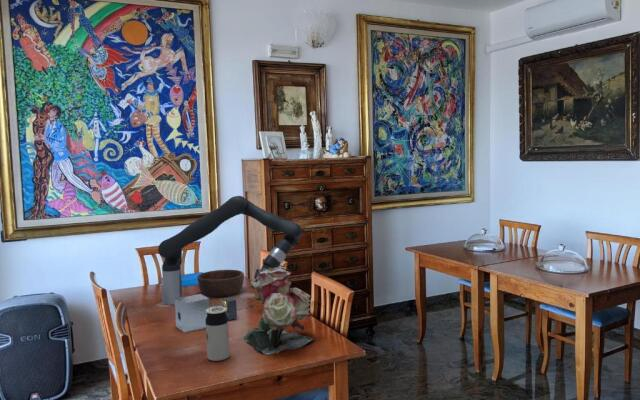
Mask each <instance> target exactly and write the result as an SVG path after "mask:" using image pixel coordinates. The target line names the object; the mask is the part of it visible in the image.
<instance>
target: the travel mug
mask: <svg viewBox="0 0 640 400" xmlns="http://www.w3.org/2000/svg"><path fill="white" fill-rule="evenodd" d="M211 307H212V306H211ZM226 310H227V309H226V308H225V307H212V308H208V309H207V310H206V313H207V317H206V319H205V320H206V328H205V334H206V335H205V337H206V356H207V359H208V360H210V361H212V362H213V361H214V362H218V361H219V362H221V361H224V360H226V359H228V358H229V357H230V339H229V320H228V317H227V315H226Z"/></svg>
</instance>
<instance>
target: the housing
mask: <svg viewBox="0 0 640 400" xmlns="http://www.w3.org/2000/svg"><path fill="white" fill-rule="evenodd" d="M210 304H211V303H210V297H208V296H205V295H203V294H202V293H200V294H199V293H198V294H193V295H189V296H188V295H187V296H182V298H176V299H175V305H174V312H175V327H176V328H177V329H179V330H180V331H181V332H183V333H184V334H185V333H189V332H194V331H198V330H202V329H206V320H205V319H206V317H207V313H206V310H207V309H208V308H210V307H211V306H210Z"/></svg>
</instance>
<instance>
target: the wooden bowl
mask: <svg viewBox="0 0 640 400" xmlns="http://www.w3.org/2000/svg"><path fill="white" fill-rule="evenodd" d="M197 279H198V284H199V285H198V288H199V290H200V292H201V294H202V295H204V296H205V297H207V298H228V297H232V296H235V295H237V294H239V293H240V292H241V290H242V289H243V286H244V280H245V274H244V271H242V270H238V269H237V270H236V269H218V270H210V271H205V272H203V273H202V274H200V275H198V277H197Z"/></svg>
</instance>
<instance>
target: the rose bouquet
mask: <svg viewBox="0 0 640 400" xmlns="http://www.w3.org/2000/svg"><path fill="white" fill-rule="evenodd" d="M270 271H271V272H270ZM257 273H258V274H259V276H260V277H261V279H259V281H255V280H253V281H250V284H251V285H252V286H253V287H254V289H253V290H254V291H255V292H256V293H257V295H258V296H255V297H251V298H250V300H256V301H262V302H261V303H260V304H261V305H263V308H262V311H261V316H262V317H261V318H260V319H259V318H258V317H257V318H255V319H257V322H258V327H257V326H256V327H254V328H252V329H249V330H248V332H247V333H246V335H244V337H243V338H242V340H243V341H244V342H245V343H246V344H247V345H249V346H251V347H253V348H254V349H255V350H256V351H258V352H259V353H262V354H263V355H266V356H269V355H272V354H275V353H276V354H277V355H278V356H279V353H280V352H282V351H285V350H296V349H300V348H302V347H304V346H305V345H307V344H308V343H310V342H313V341H315V339H314V338H313V337H311V336H306V335H302V334H299V333H298V332H296V328H298V329H299V330H300V331H301V332H303V333H305V332H306V331H305V328H306V327H305V326H304V325H303V324H301V322H299V321H301V320H306V318H307V317H310V316H311V314H310V311H311V310H312V309H311V308H310V307H309V306H311V305H312V304H311V303H310V302H311V299H310V298H311V295H310V294H308V293H307V292H305V291H303V290H302V289H300V288H298V287H291V285H292V282H291V280H290V281H289V277H290V276H291V274H292V273H291V271H288V270H287V267H285V265H282V264H280V266H279V267H275V268H269V269H266V270H265V271H263V272H257ZM237 305H238V304H237V303H236V306H237ZM254 306H255V305H254V304H250V305H248V307H249V308H254ZM290 328H292V329H293V331H292V332H288V331H285V330H289V329H290ZM280 342H282V343H281V344H280Z"/></svg>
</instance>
